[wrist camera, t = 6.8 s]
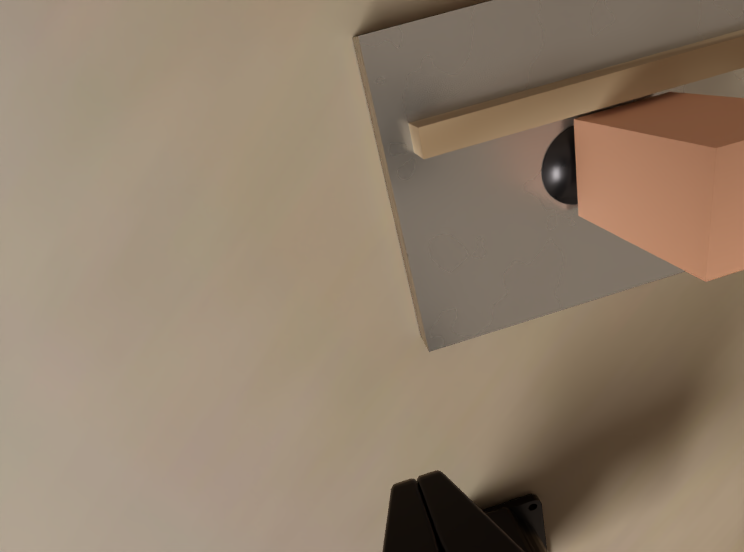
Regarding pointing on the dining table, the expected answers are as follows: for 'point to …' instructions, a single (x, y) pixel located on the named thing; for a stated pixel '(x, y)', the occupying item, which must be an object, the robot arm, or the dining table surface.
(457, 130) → the bar
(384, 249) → the dining table surface
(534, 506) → the robot arm
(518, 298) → the flange plate
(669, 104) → the slide leg
